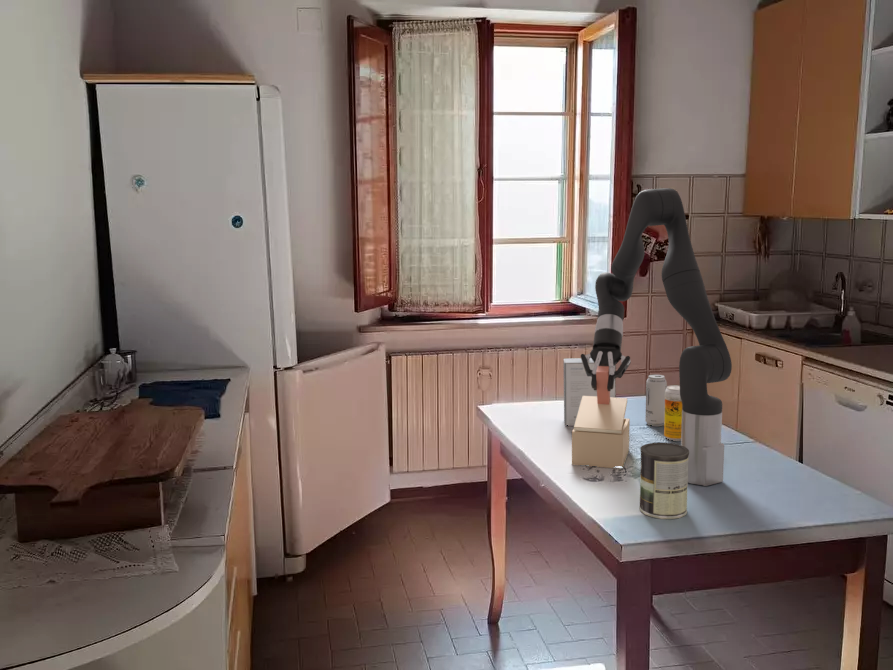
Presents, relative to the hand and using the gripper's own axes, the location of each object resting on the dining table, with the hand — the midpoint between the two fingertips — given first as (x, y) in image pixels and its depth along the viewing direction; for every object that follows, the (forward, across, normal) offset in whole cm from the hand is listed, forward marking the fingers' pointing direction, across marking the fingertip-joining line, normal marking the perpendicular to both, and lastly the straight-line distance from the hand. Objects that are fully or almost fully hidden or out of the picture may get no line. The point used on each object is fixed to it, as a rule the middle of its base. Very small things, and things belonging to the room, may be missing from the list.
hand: (601, 389), depth 211 cm
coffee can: (+37, +18, -12) cm, 42 cm away
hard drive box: (-9, -8, +37) cm, 39 cm away
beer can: (-2, +18, +30) cm, 35 cm away
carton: (+14, 0, +13) cm, 19 cm away
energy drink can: (-11, +11, +40) cm, 43 cm away
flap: (+6, 0, +4) cm, 7 cm away
